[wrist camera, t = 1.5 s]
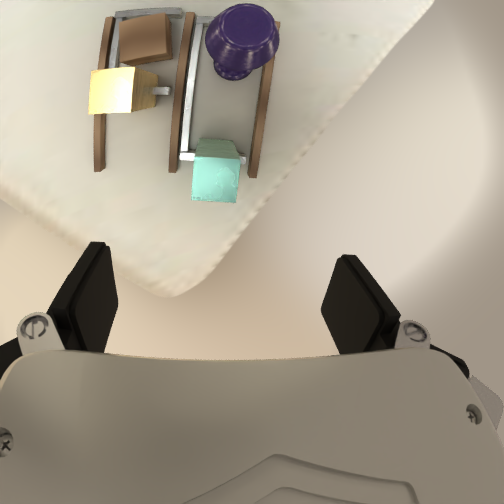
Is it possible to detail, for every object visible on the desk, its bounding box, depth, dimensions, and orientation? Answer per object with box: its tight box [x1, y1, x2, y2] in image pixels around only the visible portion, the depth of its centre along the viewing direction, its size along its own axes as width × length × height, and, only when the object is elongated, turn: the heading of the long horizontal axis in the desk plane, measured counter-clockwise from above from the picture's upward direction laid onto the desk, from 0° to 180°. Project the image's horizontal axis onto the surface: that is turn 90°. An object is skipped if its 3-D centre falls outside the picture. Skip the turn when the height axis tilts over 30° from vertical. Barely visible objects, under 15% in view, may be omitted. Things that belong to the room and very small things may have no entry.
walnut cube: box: [119, 12, 172, 66], centre depth 21 cm, size 4×4×4 cm
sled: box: [88, 8, 182, 114], centre depth 19 cm, size 11×7×10 cm, turn 172°
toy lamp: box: [205, 3, 279, 81], centre depth 18 cm, size 5×5×17 cm
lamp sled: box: [180, 16, 246, 203], centre depth 23 cm, size 17×7×10 cm, turn 172°
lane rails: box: [94, 12, 280, 178], centre depth 25 cm, size 18×18×2 cm
